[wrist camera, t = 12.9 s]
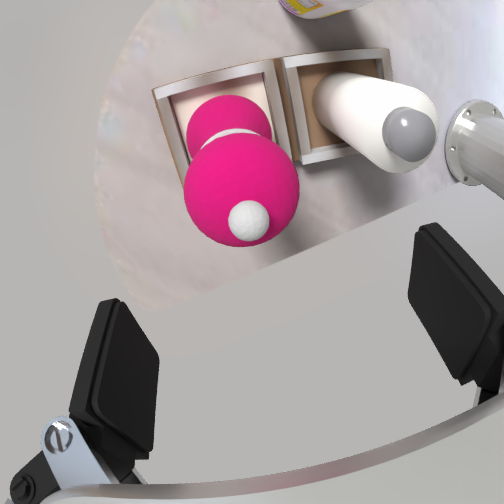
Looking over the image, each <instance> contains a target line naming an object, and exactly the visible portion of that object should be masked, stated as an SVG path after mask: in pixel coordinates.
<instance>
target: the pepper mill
mask: <svg viewBox="0 0 504 504" xmlns="http://www.w3.org/2000/svg"><path fill="white" fill-rule="evenodd" d="M186 142H187V147H188V151H189V153H190V156H191V158H192V159H193V160H192V162H191V163H190V165H189V167H188V170H187V173H186V176H185V180H184V199H185V204H186V207H187V211H188V213H189V215H190V217H191V219H192V220H193V222H194V224H195V225H196V226H197V227H198V229H199V230H200V231H201V232H203V233H204V234H205V235H206V236H207V237H209V238H211V239H212V240H214V241H216V242H217V243H221V244H224V245H227V246H232V247H248V246H254V245H258V244H261V243H264V242H266V241H268V240H271V239H272V238H274V237H275V236H276V235H278V234H279V233H280V232H281V231H282V230H283V229H284V228H285V227H286V226H287V225H288V224H289V222H290V221H291V219H292V218H293V216H294V213H295V211H296V209H297V205H298V200H299V180H298V175H297V172H296V169H295V167H294V164H293V163H292V161H291V159H290V158H289V156H288V155H287V153H286V152H285V151H284V150H283V149H282V148H281V147H280V146H279V145H277V144H276V143H274V142H273V141H272V130H271V126H270V123H269V120H268V118H267V116H266V114H265V113H264V111H263V110H262V109H261V108H260V107H259V106H258V105H257V104H256V103H255V102H253V101H251V100H250V99H247V98H245V97H242V96H238V95H221V96H217V97H214V98H212V99H209V100H208V101H206V102H204V103H203V104H202V105H201V106H199V107H198V108H197V109H196V111H195V112H194V113H193V115H192V116H191V118H190V120H189V123H188V126H187V131H186Z"/></svg>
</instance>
